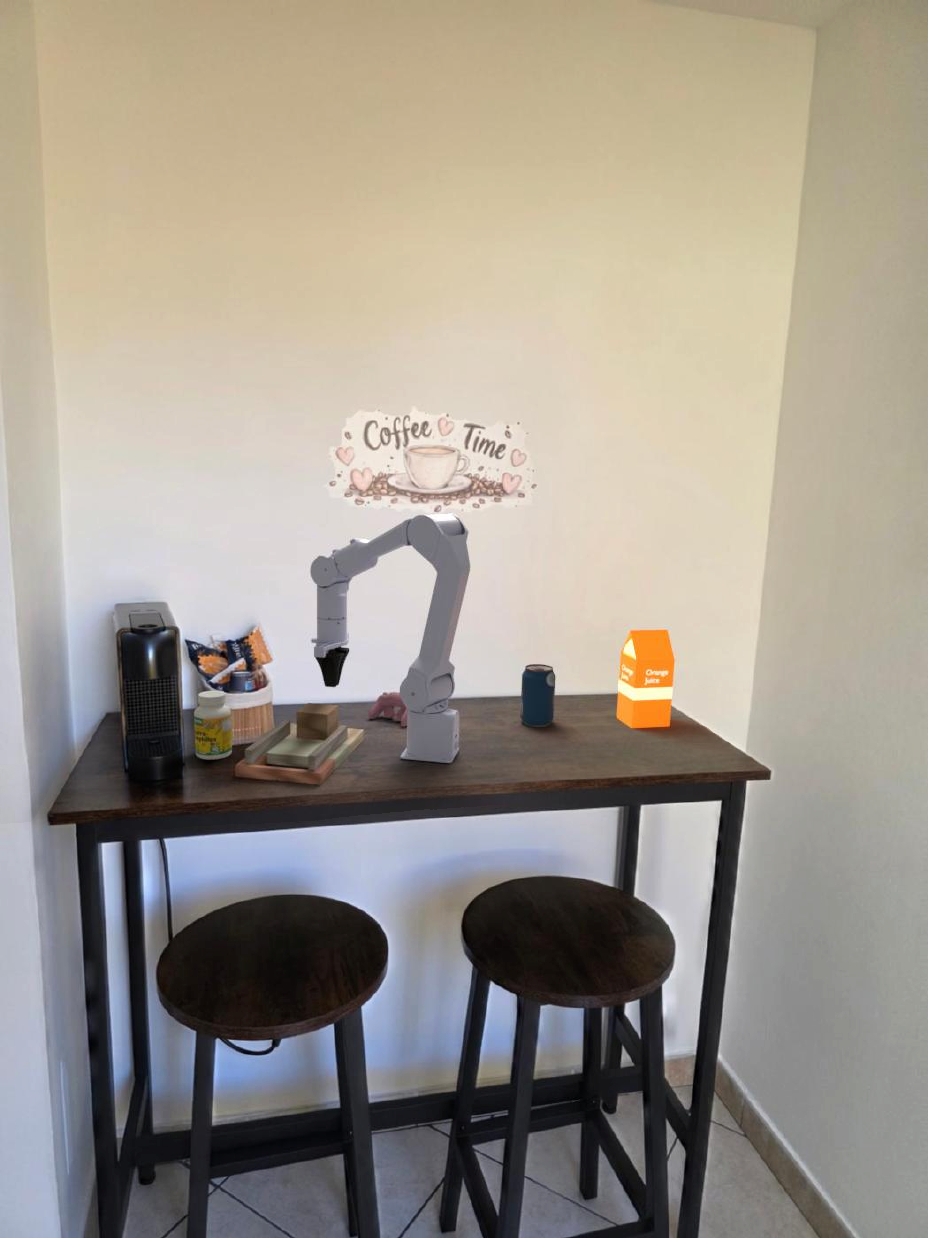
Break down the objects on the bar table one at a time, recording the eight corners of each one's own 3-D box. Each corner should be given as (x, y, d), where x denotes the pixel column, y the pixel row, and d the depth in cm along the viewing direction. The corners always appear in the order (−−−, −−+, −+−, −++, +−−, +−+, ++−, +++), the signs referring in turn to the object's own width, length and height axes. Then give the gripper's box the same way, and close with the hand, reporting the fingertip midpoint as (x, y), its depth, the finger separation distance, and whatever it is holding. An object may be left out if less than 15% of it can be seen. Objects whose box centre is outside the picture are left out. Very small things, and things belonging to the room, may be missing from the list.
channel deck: (363, 739, 160) (363, 717, 159) (320, 785, 137) (320, 759, 136) (290, 733, 163) (290, 710, 162) (235, 776, 139) (234, 751, 139)
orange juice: (670, 726, 174) (677, 633, 171) (631, 728, 172) (638, 634, 169) (652, 715, 182) (659, 626, 178) (615, 717, 180) (621, 626, 176)
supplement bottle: (238, 751, 152) (237, 691, 150) (218, 762, 146) (217, 700, 144) (208, 746, 153) (207, 687, 151) (187, 757, 147) (185, 696, 145)
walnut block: (338, 730, 158) (338, 705, 158) (327, 740, 153) (327, 714, 152) (308, 728, 159) (308, 703, 159) (296, 737, 154) (296, 711, 153)
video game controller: (415, 731, 171) (424, 698, 172) (403, 726, 167) (413, 693, 169) (377, 722, 176) (386, 691, 178) (365, 717, 172) (374, 685, 174)
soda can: (560, 724, 173) (562, 669, 171) (534, 730, 169) (536, 672, 167) (538, 716, 179) (541, 662, 177) (513, 720, 175) (515, 665, 173)
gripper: (325, 610, 168) (325, 675, 170) (298, 622, 154) (298, 693, 156) (358, 612, 167) (358, 677, 169) (334, 625, 152) (334, 696, 155)
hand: (331, 685), depth 162 cm, fingers closed
